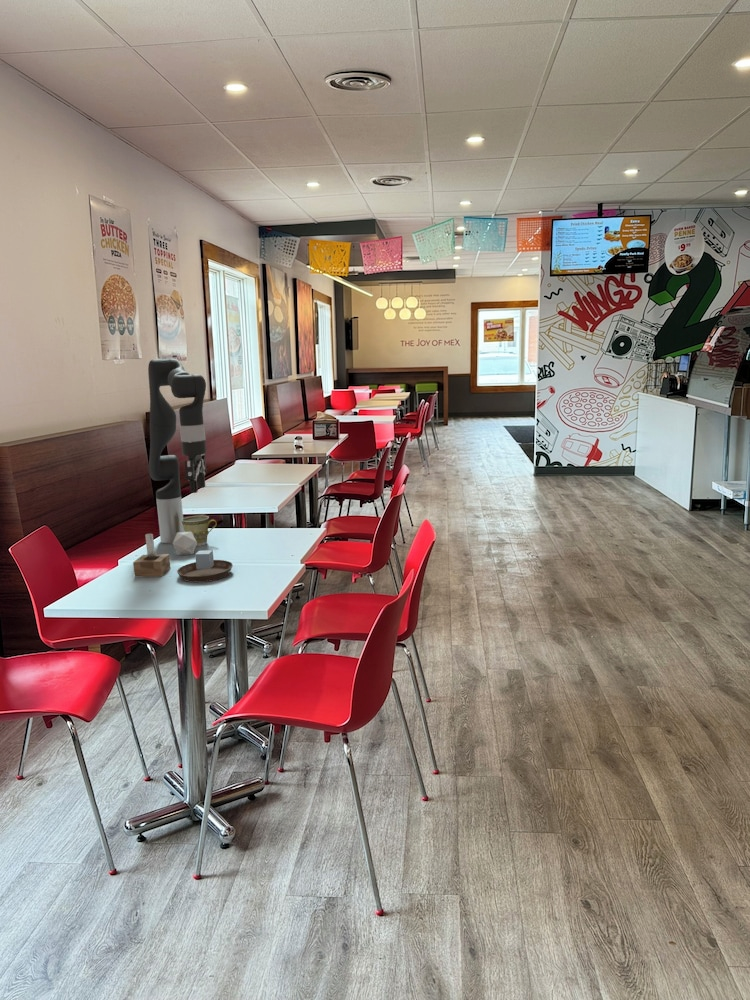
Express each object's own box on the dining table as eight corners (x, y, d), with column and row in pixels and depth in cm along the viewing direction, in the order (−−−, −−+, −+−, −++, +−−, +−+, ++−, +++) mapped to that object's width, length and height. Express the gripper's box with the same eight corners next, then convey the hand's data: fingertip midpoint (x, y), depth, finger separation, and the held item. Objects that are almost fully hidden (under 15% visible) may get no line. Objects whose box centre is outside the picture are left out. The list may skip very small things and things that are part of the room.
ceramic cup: (180, 548, 278) (178, 521, 276) (188, 541, 288) (186, 515, 286) (215, 546, 278) (213, 520, 276) (221, 540, 288) (219, 514, 286)
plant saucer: (178, 587, 232) (177, 578, 232) (177, 572, 249) (176, 563, 249) (236, 580, 237) (235, 571, 237) (230, 565, 254) (230, 557, 253)
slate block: (200, 565, 245) (199, 550, 244) (214, 565, 245) (212, 550, 244) (196, 569, 241) (195, 554, 240) (210, 569, 240) (208, 553, 239)
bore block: (144, 568, 253) (143, 554, 252) (170, 568, 252) (169, 554, 251) (134, 577, 244) (133, 562, 243) (161, 576, 244) (160, 561, 243)
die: (188, 559, 265) (201, 535, 267) (166, 548, 264) (179, 524, 266) (190, 561, 273) (202, 538, 275) (168, 551, 272) (181, 527, 274)
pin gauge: (150, 568, 249) (146, 533, 247) (157, 568, 249) (153, 533, 247) (148, 570, 247) (144, 535, 244) (155, 570, 247) (151, 535, 244)
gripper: (188, 436, 241) (193, 486, 245) (174, 442, 227) (179, 494, 231) (211, 436, 241) (215, 485, 244) (198, 441, 227) (203, 494, 230)
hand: (198, 490), depth 237 cm, fingers open, 8 cm apart
